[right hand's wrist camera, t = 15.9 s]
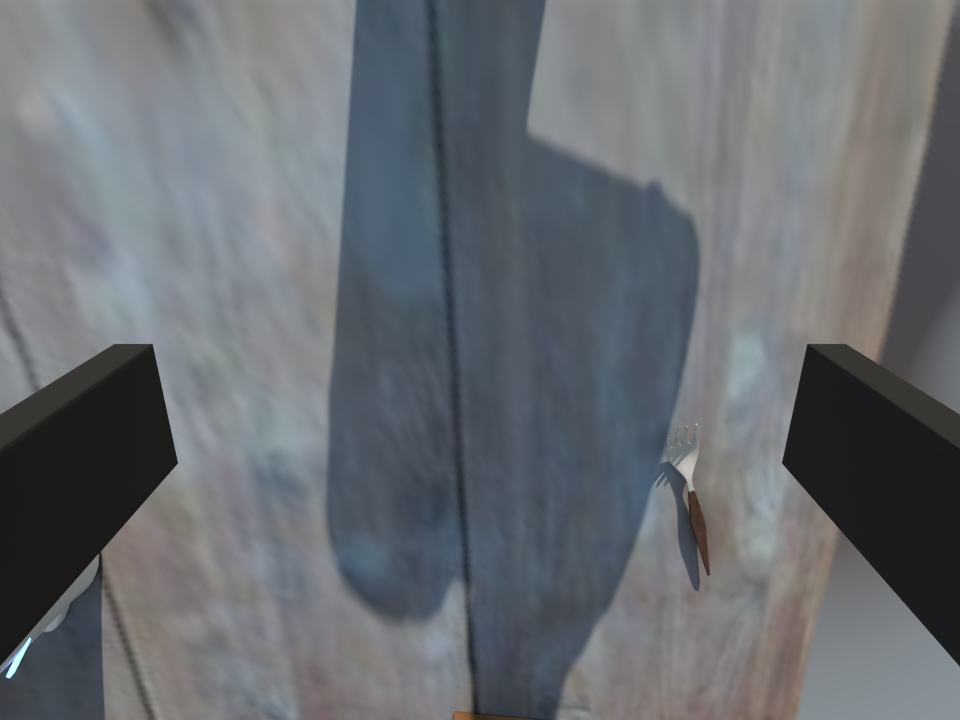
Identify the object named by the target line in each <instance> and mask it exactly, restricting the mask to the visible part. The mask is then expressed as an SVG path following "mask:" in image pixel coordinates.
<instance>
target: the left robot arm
mask: <svg viewBox="0 0 960 720" xmlns="http://www.w3.org/2000/svg"><path fill="white" fill-rule="evenodd" d="M98 565H99V554H98V555H97V556H96V557H95V559H94V560H93V561H92V562H91V563H90V564H89V565H88V567H87V568H86V569H85V570H84V571H83V572H82V573H81V575H80V576H79V577H78V578H77V579H76V580H75V581H74V583H73V584H72V585H71V586H70V587H69V588H68V589H67V591H66V592H65V593H64V594H63V595H62V596H61V597H60V599H59V600H58V601H57V602H56V603H55V604H54V605H53V607H52V608H51V609H50V610H49V611H48V612H47V613H46V615H45V616H44V617H43V618H42V619H41V620H40V621H39V623H38V624H37V625H36V626H35V627H34V628H33V629H32V631H31V632H30V633H29V634H28V635H27V636H26V637H25V639H24V640H23V641H22V642H21V643H20V644H19V645H18V647H17V648H16V649H15V650H14V651H13V652H12V653H11V655H10V656H9V657H8V658H7V659H6V660H5V661H4V663H3V664H2V665H1V666H0V673H1V672H2V671H3V670H4V669H5V668H6V667H7V666H8V665H9V664H10V663H11V662H12V661H13V660H14V659H15V660H14V662H13V664H12V666H11V668H10V670H9V672H8V674H7V676H6V677H8V678H10V677H11V676H12V675H13V674H14V672H15V671H16V669H17V667H18V665H19V663H20V661H21V659H22V657H23V655H24V653H25V651H26V649H27V647H28V646H29V645H30V644H31V643H32V642H33V641H34V640H35V639H36V638H37V637H38V636H39V635H40V634H41V633H42V632H50V631H53V630H54V629H55V628H56V627H57V626H58V625H59V624H60V623H62V621H63V620H64V619H65V617H66V614H67V612H68V609H69V605H70V603H71V602H72V601H73V600H74V599H76V598H77V597H78V596H79V595H80V594H81V593H83V592H84V591H85V590H86V589H87V588H88V587H89V586H90V584H91V583H92V581H93V580H94V578H95V576H96V573H97V570H98Z"/></svg>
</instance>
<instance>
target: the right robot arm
mask: <svg viewBox="0 0 960 720" xmlns="http://www.w3.org/2000/svg"><path fill="white" fill-rule="evenodd" d="M177 464H178V461H177V457H176V452H175V447H174V442H173V438H172V433H171V428H170V424H169V419H168V414H167V410H166V405H165V400H164V396H163V391H162V386H161V382H160V377H159V372H158V367H157V363H156V358H155V353H154V349H153V344H114V345H112V346H110V347H109V348H107V349H106V350H104V351H102V352H101V353H99V354H98V355H96V356H94V357H93V358H91V359H89V360H88V361H86V362H85V363H83V364H81V365H80V366H78V367H77V368H75V369H73V370H72V371H70V372H68V373H67V374H65V375H64V376H62V377H60V378H59V379H57V380H55V381H54V382H52V383H51V384H49V385H47V386H46V387H44V388H43V389H41V390H39V391H38V392H36V393H34V394H33V395H31V396H30V397H28V398H26V399H25V400H23V401H22V402H20V403H18V404H17V405H15V406H13V407H12V408H10V409H9V410H7V411H5V412H4V413H2V414H0V666H1V665H2V664H3V663H4V661H5V660H6V659H7V658H8V657H9V656H10V655H11V653H12V652H13V651H14V650H15V649H16V648H17V647H18V645H19V644H20V643H21V642H22V641H23V640H24V639H25V637H26V636H27V635H28V634H29V633H30V632H31V631H32V629H33V628H34V627H35V626H36V625H37V624H38V623H39V621H40V620H41V619H42V618H43V617H44V616H45V615H46V613H47V612H48V611H49V610H50V609H51V608H52V607H53V605H54V604H55V603H56V602H57V601H58V600H59V599H60V597H61V596H62V595H63V594H64V593H65V592H66V591H67V589H68V588H69V587H70V586H71V585H72V584H73V583H74V581H75V580H76V579H77V578H78V577H79V576H80V575H81V573H82V572H83V571H84V570H85V569H86V568H87V567H88V565H89V564H90V563H91V562H92V561H93V560H94V559H95V557H96V556H97V555H98V554H99V553H100V552H101V551H102V549H103V548H104V547H105V546H106V545H107V544H108V543H109V541H110V540H111V539H112V538H113V537H114V536H115V535H116V533H117V532H118V531H119V530H120V529H121V528H122V527H123V525H124V524H125V523H126V522H127V521H128V520H129V519H130V517H131V516H132V515H133V514H134V513H135V512H136V511H137V509H138V508H139V507H140V506H141V505H142V504H143V503H144V501H145V500H146V499H147V498H148V497H149V496H150V495H151V493H152V492H153V491H154V490H155V489H156V488H157V487H158V485H159V484H160V483H161V482H162V481H163V480H164V479H165V477H166V476H167V475H168V474H169V473H170V472H171V471H172V469H173V468H174V467H175V466H176V465H177ZM782 464H783V465H784V466H785V467H786V468H787V469H788V471H789V472H790V473H791V474H792V475H793V476H794V477H795V479H796V480H797V481H798V482H799V483H800V484H801V485H802V487H803V488H804V489H805V490H806V491H807V492H808V493H809V495H810V496H811V497H812V498H813V499H814V500H815V501H816V503H817V504H818V505H819V506H820V507H821V508H822V509H823V511H824V512H825V513H826V514H827V515H828V516H829V517H830V519H831V520H832V521H833V522H834V523H835V524H836V525H837V527H838V528H839V529H840V530H841V531H842V532H843V533H844V535H845V536H846V537H847V538H848V539H849V540H850V541H851V543H852V544H853V545H854V546H855V547H856V548H857V549H858V551H859V552H860V553H861V554H862V555H863V556H864V557H865V558H866V560H867V561H868V562H869V563H870V564H871V565H872V566H873V568H874V569H875V570H876V571H877V572H878V573H879V575H880V576H881V577H882V578H883V579H884V580H885V581H886V583H887V584H888V585H889V586H890V587H891V588H892V589H893V591H894V592H895V593H896V594H897V595H898V596H899V597H900V599H901V600H902V601H903V602H904V603H905V604H906V605H907V607H908V608H909V609H910V610H911V611H912V612H913V613H914V615H915V616H916V617H917V618H918V619H919V620H920V621H921V623H922V624H923V625H924V626H925V627H926V628H927V629H928V631H929V632H930V633H931V634H932V635H933V636H934V637H935V639H936V640H937V641H938V642H939V643H940V644H941V645H942V647H943V648H944V649H945V650H946V651H947V652H948V653H949V655H950V656H951V657H952V658H953V659H954V660H955V661H956V663H957V664H958V665H959V666H960V414H958V413H956V412H955V411H953V410H951V409H950V408H948V407H947V406H945V405H943V404H942V403H940V402H938V401H937V400H935V399H934V398H932V397H930V396H929V395H927V394H926V393H924V392H922V391H921V390H919V389H917V388H916V387H914V386H912V385H911V384H909V383H908V382H906V381H905V380H903V379H901V378H900V377H898V376H896V375H895V374H893V373H892V372H890V371H888V370H887V369H885V368H883V367H882V366H880V365H879V364H877V363H875V362H874V361H872V360H871V359H869V358H867V357H866V356H864V355H862V354H861V353H859V352H858V351H856V350H854V349H853V348H851V347H850V346H848V345H846V344H807V349H806V353H805V358H804V363H803V367H802V372H801V377H800V382H799V386H798V391H797V396H796V400H795V405H794V410H793V414H792V419H791V424H790V428H789V433H788V438H787V442H786V447H785V452H784V457H783V461H782Z"/></svg>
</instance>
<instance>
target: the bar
mask: <svg viewBox="0 0 960 720" xmlns="http://www.w3.org/2000/svg"><path fill="white" fill-rule="evenodd" d="M453 720H538V719H527V718H517V717H506V716H495V715H485V714H474V713H463V712H454V717H453Z"/></svg>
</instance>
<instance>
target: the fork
mask: <svg viewBox="0 0 960 720" xmlns="http://www.w3.org/2000/svg"><path fill="white" fill-rule="evenodd" d="M669 433H670V432H669V431H668V435H667V444H666V456H667V459H668V460H669V462H670V463H671V464H672V465H673V467H675V468H676V469H677V470H678V471H679V472H680V473H681V474H682V475H683V476H684V478H685V479H686V481H687V485H688V499H689V514H690V522H691V527H692V530H693V533H694V536H695V539H696V542H697V544H698V547H699V550H700V553H701V556H702V560H703V563H704V566H705V569H706V572H707V575H710V570H709V559H708V548H707V533H706V525H705V521H704V517H703V514H702V511H701V508H700V505H699V502H698V499H697V496H696V493H695V491H694V487H693V484H692V474H693V470H694V467H695V464H696V461H697V457H698V453H699V445H698V437H697V424H696V425H695V430H694V435H693V441H692V442H689V439H688V427H686V431H685V438H684V443H683V444H682V445H681V444H680V441H679V430H678V429H677V433H676V441H675V446H674V447H671V442H670V434H669Z"/></svg>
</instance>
